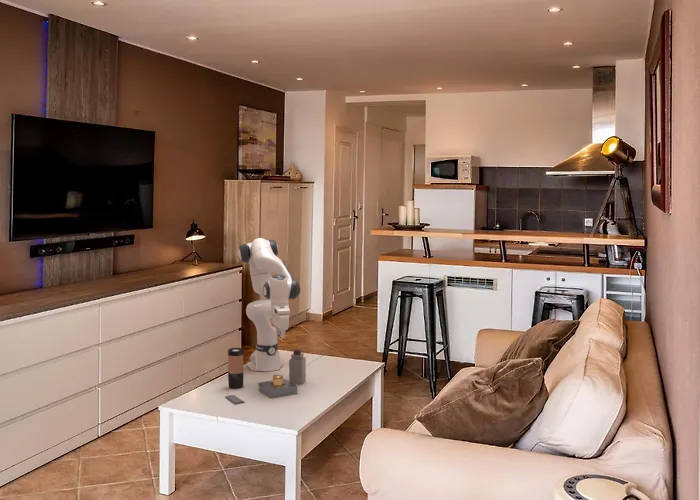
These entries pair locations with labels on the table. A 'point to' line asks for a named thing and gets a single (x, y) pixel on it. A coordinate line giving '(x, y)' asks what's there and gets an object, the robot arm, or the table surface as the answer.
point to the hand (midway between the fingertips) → (280, 336)
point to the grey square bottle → (297, 367)
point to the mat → (234, 399)
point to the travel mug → (235, 368)
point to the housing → (277, 389)
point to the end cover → (278, 380)
